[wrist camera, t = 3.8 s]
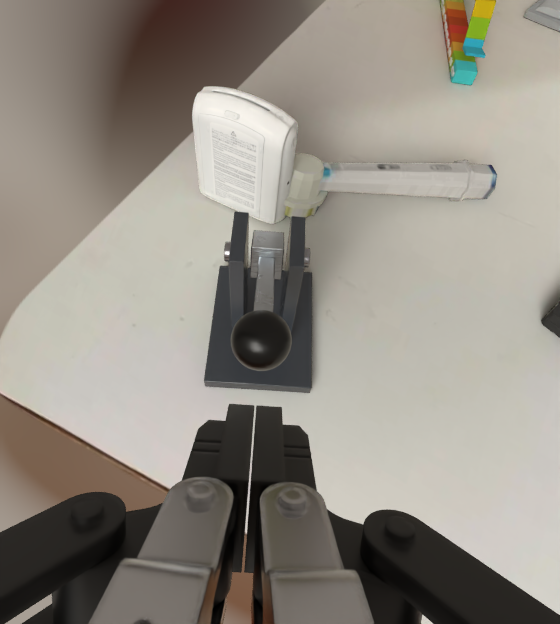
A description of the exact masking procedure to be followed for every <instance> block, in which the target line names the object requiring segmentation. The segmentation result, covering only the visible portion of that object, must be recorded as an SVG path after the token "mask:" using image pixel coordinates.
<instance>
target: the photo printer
mask: <svg viewBox="0 0 560 624" xmlns="http://www.w3.org/2000/svg"><path fill="white" fill-rule="evenodd" d="M192 120H193V130H194V140H195V150H196V160H197V171H198V181H199V189H200V192H201V193H202V194H203V195H205V196H206V197H208V198H210V199H212V200H214V201H216V202H218V203H221V204H223V205H225V206H227V207H230V208H232V209H234V210H237V211H239V212H247V213H249V216H251V217H253V218H255V219H258V220H260V221H263V222H266V223H270V224H274V223H278V222H280V221H281V220H283V219H284V218H285V216H286V215H284V214H285V208H286V205H284V202H285V200H286V199H287V198H288V197H289V191H290V185H291V179H292V173H293V165H294V158H295V151H296V143H297V135H298V124H297V121H296V120H294V119H293V118H292V117H291V116H290V115H289V114H287V113H286V112H285V111H283V110H282V109H280V108H279V107H277V106H275V105H274V104H272V103H270V102H268V101H266V100H264V99H262V98H260V97H257V96H255V95H253V94H250V93H247V92H244V91H240V90H237V89H233V88H227V87H217V86H213V87H212V86H210V87H204V88H203V90H202V91H201V92H198V93H197V95H196V98H195V101H194V105H193V112H192Z"/></svg>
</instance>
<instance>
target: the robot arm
mask: <svg viewBox="0 0 560 624" xmlns="http://www.w3.org/2000/svg"><path fill="white" fill-rule="evenodd" d="M253 417H254V406H253V405H238V404H229V407H228V412H227V417H226V421H217V420H208V421H207V422H206V423H205V424H204V425H202V426H201V427H200V428H199V429H198V432H197V435H196V438H195V442H194V444H193V447H192V451H191V453H190V457H189V460H188V463H187V466H186V469H185V472H184V475H183V479H182V481H180V482H179V483H177V484H176V485H174V486H173V487H172V488H171V489H170V490H169V492H168V494H167V496H166V498H165V500H164V502H163V503H161V504H159V505H157V506H154V507H151V508H146V509H141V510H135V511H129V512H126V507H125V504H124V502H123V501H122V500H121V499H120V498H119V497H117V496H116V495H113V494H110V493H106V492H91V493H85V494H80V495H77V496H74V497H72V498H69V499H67V500H65V501H63V502H61V503H59V504H57V505H55V506H53V507H51V508H49V509H47V510H45V511H43V512H41V513H39V514H37V515H35V516H33V517H31V518H29V519H27V520H25V521H23V522H20V523H19V524H17V525H14V526H12V527H10V528H8V529H6V530H4V531H2V532H0V624H5V623H6V622H8V621H9V620H11V619H12V618H14V617H16V616H17V615H19V614H20V613H22V612H23V611H25V610H26V609H28V608H29V607H31V606H32V605H34V604H36V603H37V602H39V601H40V600H42V599H43V598H45V597H46V596H48V595H50V594H51V593H52V604H51V605H49V606H48V607H46V608H45V609H43V610H42V611H40V612H39V613H37V614H36V615H34V616H33V617H31V618H30V619H28V620H26V621H25V622H24V623H22V624H223V620H224V615H225V610H226V603H227V594H228V592H229V590H230V586H231V579H232V572H241V571H242V557H243V545H244V533H245V521H246V508H247V496H248V483H249V471H250V458H251V444H252V431H253ZM245 558H246V559H245V571H244V572H248V573H253V574H254V575H253V591H252V603H251V618H252V624H421V619H422V614H423V615H424V616H425V617H426V618H428V619H429V620H430V621H431V622H432V623H433V624H560V615H558V614H557V613H556V612H554V611H553V610H551V609H550V608H548V607H547V606H545V605H544V604H542V603H541V602H539V601H538V600H536V599H535V598H533V597H532V596H530V595H529V594H528V593H526V592H525V591H523V590H522V589H520V588H519V587H517V586H516V585H514V584H513V583H511V582H510V581H508V580H507V579H505V578H504V577H503V576H501V575H500V574H498V573H497V572H495V571H494V570H492V569H491V568H489V567H488V566H486V565H485V564H483V563H482V562H480V561H479V560H478V559H476V558H475V557H473V556H472V555H470V554H469V553H467V552H466V551H464V550H463V549H461V548H460V547H458V546H457V545H455V544H454V543H453V542H451V541H450V540H448V539H447V538H445V537H444V536H442V535H441V534H439V533H438V532H436V531H435V530H433V529H432V528H430V527H429V526H428V525H426V524H425V523H423V522H422V521H420V520H419V519H417V518H415V517H414V516H411V515H409V514H407V513H404V512H401V511H396V510H379V511H375V512H373V513H371V514H370V515H369V516H368V517H367V518H366V519H365V522H364V525H363V524H359V523H356V522H353V521H349V520H346V519H343V518H341V517H339V516H337V515H335V514H333V513H332V512H330V511H329V510H328V509H327V508H326V505H325V502H324V499H323V498H322V496H321V495H320V494H319V493H318V492H317V490H316V484H315V477H314V471H313V465H312V459H311V452H310V446H309V439H308V435H307V434H306V433H305V432H304V431H303V430H302V428H301V427H300V426H296V425H283V424H282V407H269V406H257V407H256V420H255V434H254V447H253V460H252V474H251V488H250V501H249V515H248V529H247V544H246V557H245Z"/></svg>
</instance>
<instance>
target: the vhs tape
mask: <svg viewBox="0 0 560 624" xmlns="http://www.w3.org/2000/svg"><path fill="white" fill-rule="evenodd" d="M542 324H543V325H544V326H545V327H546V328H548V329H549V330H550V331H552V332H554V333H555V334H556V335H557V336H558V337H560V301H559V302H558V303H557V304H556V305H555V306H554V307H553V308H552V309H551V310H550V311H549V313H548V314H547V315H546V316H545V317H544V318H543V319H542Z"/></svg>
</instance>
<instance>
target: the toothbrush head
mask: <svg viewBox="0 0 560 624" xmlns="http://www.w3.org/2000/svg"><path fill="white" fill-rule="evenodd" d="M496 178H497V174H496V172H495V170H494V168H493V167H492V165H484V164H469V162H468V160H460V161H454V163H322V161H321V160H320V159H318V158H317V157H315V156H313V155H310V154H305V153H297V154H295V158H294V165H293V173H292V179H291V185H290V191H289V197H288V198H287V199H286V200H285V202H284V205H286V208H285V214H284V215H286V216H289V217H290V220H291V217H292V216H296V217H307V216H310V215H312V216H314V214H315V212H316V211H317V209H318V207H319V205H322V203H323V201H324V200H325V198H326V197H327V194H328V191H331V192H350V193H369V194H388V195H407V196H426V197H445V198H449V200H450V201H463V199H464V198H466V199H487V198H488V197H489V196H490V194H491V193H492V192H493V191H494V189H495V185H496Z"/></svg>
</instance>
